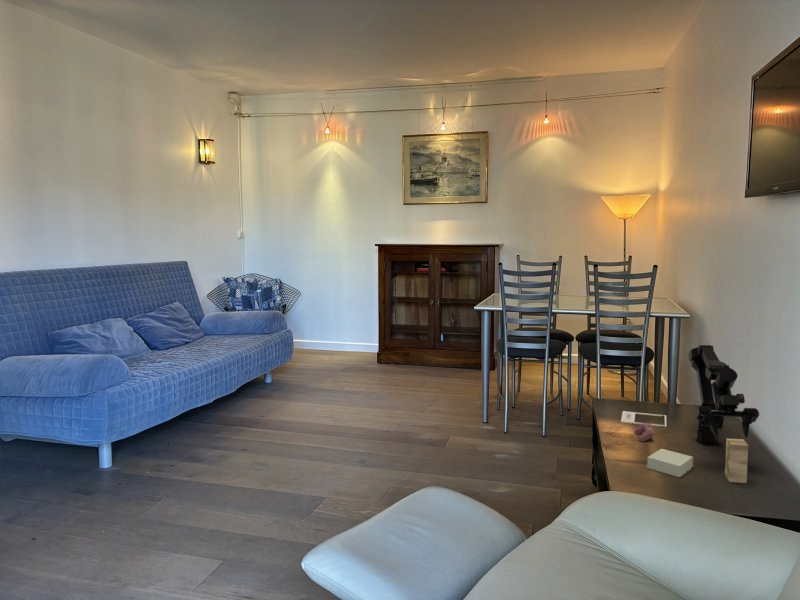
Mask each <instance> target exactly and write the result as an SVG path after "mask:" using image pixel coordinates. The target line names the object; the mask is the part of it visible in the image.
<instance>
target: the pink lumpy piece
mask: <svg viewBox="0 0 800 600" xmlns="http://www.w3.org/2000/svg"><path fill="white" fill-rule="evenodd" d="M642 423H643V424H640V425H639V426H638V427H636V428H634V434H636V435H639V437H638V441H639V442H641V441H642V442H646V441H648V440H649V439H650V438H652V437H653V436H655V430H654V428H653V427H654V426H652V425H651V424H652V423H648V422H642ZM640 434H641V435H640Z"/></svg>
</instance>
